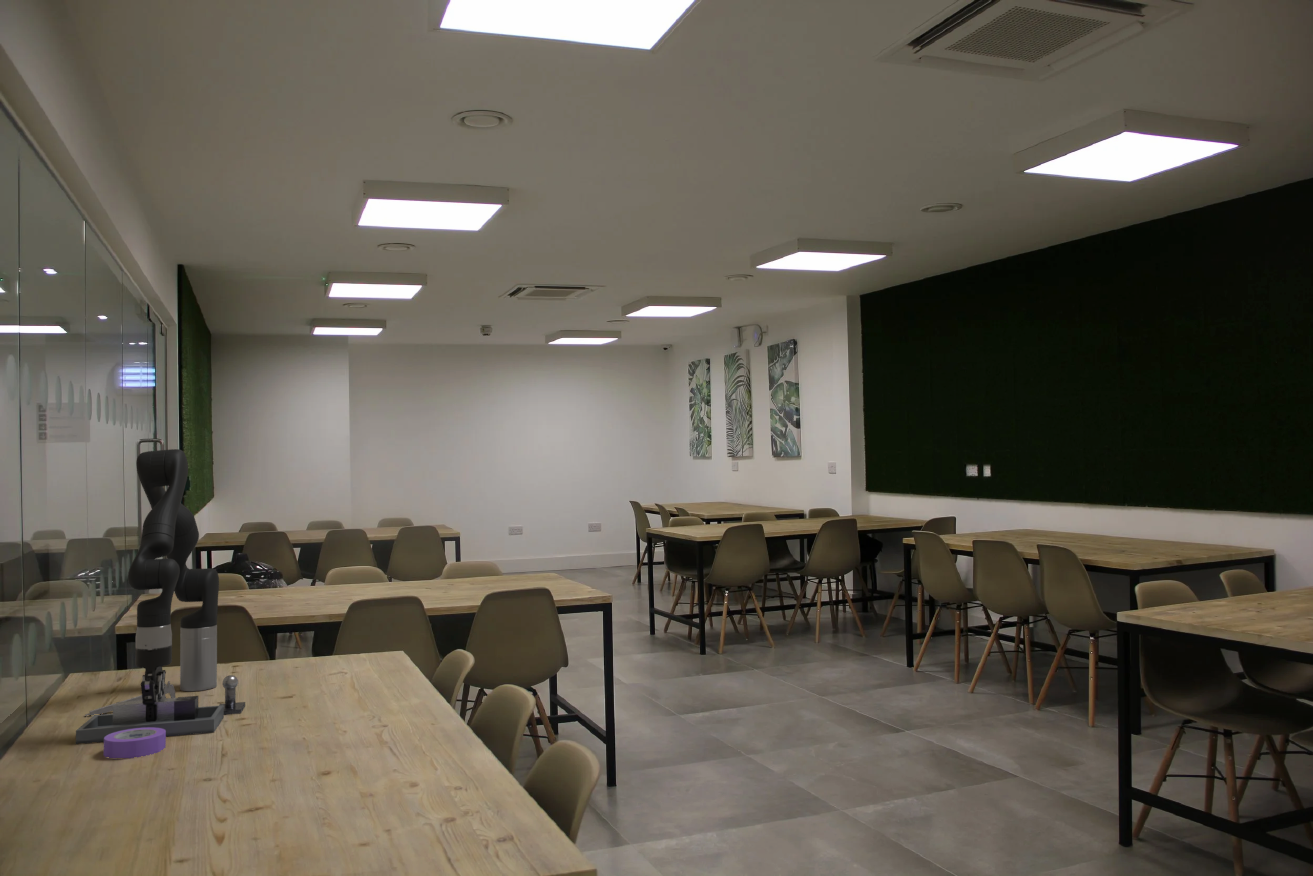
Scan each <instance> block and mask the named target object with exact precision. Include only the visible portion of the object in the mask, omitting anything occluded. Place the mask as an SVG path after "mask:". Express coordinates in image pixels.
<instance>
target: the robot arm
mask: <svg viewBox="0 0 1313 876" xmlns="http://www.w3.org/2000/svg"><path fill="white" fill-rule="evenodd" d="M136 472H137V476H138V479H139V482H140V484H141V488H142V489H143V491H144V493H145V496H146V498H147V500H148V503H149V505H150V507H151V510H150V511H149V513H147V515H146V517H145V518H144V520H143V523H142V530H141V538H140V545H139V548H138V550H137V553H136V555H135V557H134V559H133V561H132V562H131V564H130V566H129V569H128V572H127V573H128V574H127V580H128V583H129V585H130V587H131V588H132V589H134V590H136V591H146V590H147V591H148V590H160V589H161V592H160V594H159V595H158V596H156V597H153V598H150V599H149V598H148V599H145V600H141V601H140V602H139V603H138V604H137V608H136V631H135V655H134V656H135V657H134V658H135V659H134V660H135V662H134V664H135V667H137V668H141V669H145V671H144V674H143V675H142V678H141V682H140V689H141V695H142V703H143V705H145V706H146V721H147V722H152V721H156V720H157V703H158V701H157V699H162V698H163V696H162V695H164V687H165V686H164V685H165V684H166V674H167V670H166V669H163V667H165V666H167V665H168V666H169V665H170V664H171V663H172V662H173V656H172V654H173V632H172V624H171V623H172V622H171V621H172V619H171V618H172V617H171V616H172V615H171V613H172V602H173V597H174V594H175V596H176V598H177V599H178V601H179V602H181V603H182V602H183V603H197V602H198V603H200V602H201V603H202V604H201V606H200V608H199V609H198V610H196V611H194V612H192V613H189V614H186V615H184V616H181V618H180V624H179V625H180V630H179V631H180V634H179V635H180V637H179V638H180V641H179V642H180V643H179V644H180V647H179V648H180V650H179V652H180V655H179V656H180V657H179V658H180V659H179V660H180V662H179V665H180V666H179V668H180V669H179V672H180V674H179V675H180V676H179V687H180V691H182V692H199V691H200V692H201V691H205V690H210V689H211V690H212V689H214V688H216V687H217V686H218V683H217V679H218V674H217V673H218V615H219V614H218V610H219V609H218V604H219V592H220V591H219V590H220V589H219V588H220V578H219V573H218V571H217V570H216V569H215V568H189V567H188V566H187V561H188V558H189V557H190V555H191V554H192V553H193V551H194V550H195V547H196V546H197V543H198V542H199V538H200V533H199V528H198V525H197V521H196V519H195V518H196V517H195V515H194V514H193V512H192V511H191V510H190V509H189V508H187V507H186V506H185V505H184V504H183V503H182V500H183V496H184V492H185V490H186V489H185V488H186V484H187V481H188V473H189V464H188V459H187V456H186V453H185V452H184V451H183V450H182V449H179V448H178V449H177V448H176V449H175V448H171V449H162V450H161V449H160V450H149V451H144V452H143V451H142V452H141V453H139V454H138V456H137V458H136ZM164 487H167V490H166V489H165V488H164ZM163 557H166V558H163ZM148 696H150V697H149V699H148Z"/></svg>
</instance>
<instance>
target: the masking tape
mask: <svg viewBox="0 0 1313 876" xmlns="http://www.w3.org/2000/svg"><path fill="white" fill-rule="evenodd" d="M166 739H167V737H166V730H165V729H162V728H154V727H147V728H134V729H127V730H122V731H118V732H114V733H111V734H109V735H107V736H105V737H104V742H103V757H104V756H105V757H104V758H106V757H109V758H129V759H135V758H134V757H137V758H142V757H141V756H143V757H147V756H150V754H151V755H155V754H158V753H159V752H161V750H162V751H163V749H164V748H165V749H166ZM165 749H164V750H165ZM154 753H155V754H154ZM146 755H147V756H146ZM109 758H108V759H109Z"/></svg>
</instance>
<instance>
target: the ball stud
mask: <svg viewBox="0 0 1313 876" xmlns="http://www.w3.org/2000/svg"><path fill="white" fill-rule="evenodd" d="M238 684H239V679H238V677H237V676H235V675H232V674H230V675H226V676H225V677H224V678H223V680H222V687H223V688H224V703H219V704H218V706H219V705H224V715H236V714H238V715H239V714H242V712H243V711H244V709H245V707H246V701H239V702H236V700H237V699H236V688H237V686H238Z"/></svg>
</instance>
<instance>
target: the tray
mask: <svg viewBox="0 0 1313 876" xmlns="http://www.w3.org/2000/svg"><path fill="white" fill-rule="evenodd" d="M224 717H225V716H224V705H219V704H218V705H209V706H208V705H207V706H198V716H197V717H196V718H195V719H193V720H181V721H163V722H150V723H138V724H125V725H113V713H104V714H101V715H94V716H91V718H90V719H88V720H87V721H86V722H84V723H83V724H82V725H81V726H80V727H78V728H77V729H76V730H75V745H79V744H78V743H85V744H93V743H92V742H97V743H104V737H105V736H107V735H109V734H111V733H114V732H118V731H122V730H127V729H134V728H147V727H154V728H162V729H165V730H166V738H168V737H174V736H175V737H176V736H188V735H190V736H191V735H199V734H210V733H215V731H216V730H217V728H218V727H219V726H220V724H221V722H222V721H223V719H224Z"/></svg>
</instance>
